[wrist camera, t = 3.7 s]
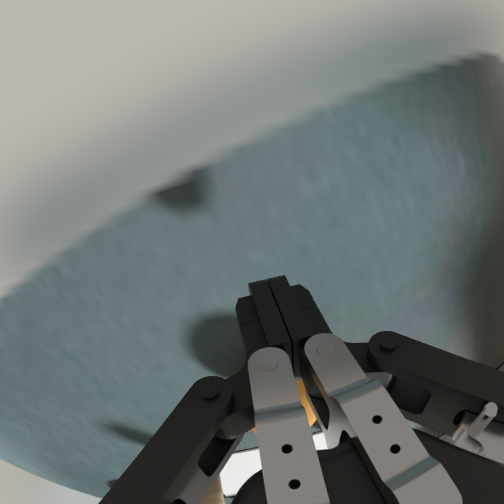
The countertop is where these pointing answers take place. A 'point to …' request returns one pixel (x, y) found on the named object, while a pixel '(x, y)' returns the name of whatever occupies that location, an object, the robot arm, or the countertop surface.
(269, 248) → the countertop surface
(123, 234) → the countertop surface
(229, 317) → the countertop surface
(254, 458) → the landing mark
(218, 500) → the post
